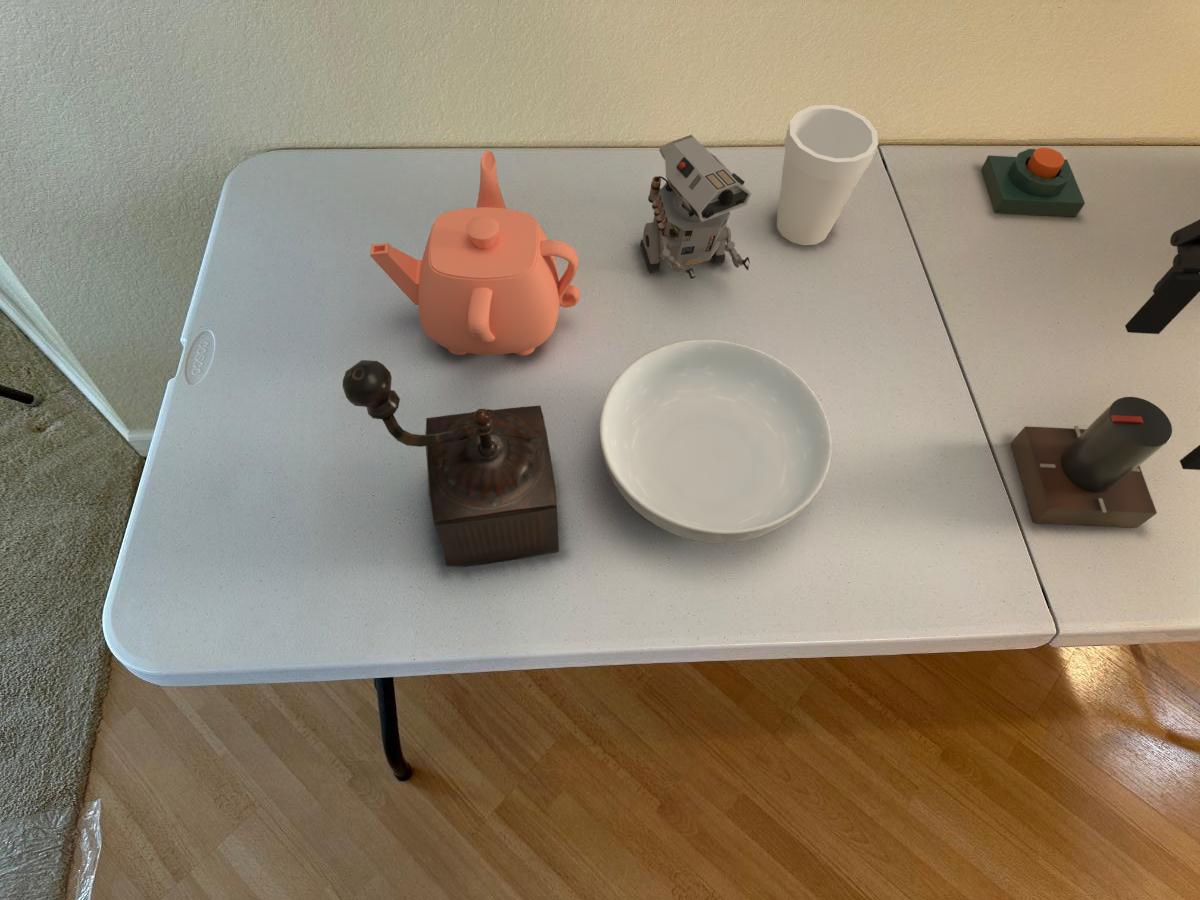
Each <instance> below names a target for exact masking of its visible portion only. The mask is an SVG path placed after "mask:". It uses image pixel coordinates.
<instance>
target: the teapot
mask: <svg viewBox="0 0 1200 900" xmlns="http://www.w3.org/2000/svg"><path fill="white" fill-rule="evenodd" d="M479 176H480V177H479V180H480V181H479V189H478V195H477V201H476V207H466V208H459V209H453V210H448V211H446V212H443V213H441V214H439V215H438V216H437V217H436V218H435V220H434V222H433V224H432V227H431V229H430V232H429V235H428V238H427V242H426V244H425V248H424V251H423V254H422V257H421V260H420V259H417V258H415V257H413V256H410V255H409V254H407V253H405V252H403V251H402V250H399V249H398V248H396V247H394V246H392V245H390V243H389V242H383V243H382V242H381V243H374V244H373V243H372V244H371V245H370V251H369V256H370V258H371V259H372V260H373V261H374V262H375V263H376V264H377V265H378V266H379V267H380V268H381V269H382V271H383V272H384V273H385V274H386V275H387V276H388V277H389V278H390V279H391V280H392V282H393V283H394V284H395V285H396V286H397V287H398V288H399V289H400V290H401V291H402V293H404V295H405V296H406V297H407V298H408V299H409V300H410V301H411V302H412V303H413V305H414V306H418V317H419V322H420V325H421V328H422V331H423V332H424V333H425V335H426V336H427V337H428V338H429V339H431V340H432V342H434V343H436V344H438V345H440V346H442V347H443V348H446V349H447V350H448V351H449V352H450V353H451V354H453V355H457V356H463V355H466V354H474V355H482V356H483V355H484V356H487V355H488V356H495V355H496V356H497V355H509V354H514V355H516V356H522V357H524V356H528V355H530V354H533V352H534V351H535V349H536V348H537V347H539V346H540V345H542V344H544V343H545V342H546V341H547V340H548V339H549V338H550V337H551V336H552V334H553V332H554V331H555V328H556V326H557V321H558V318H559V313H560V307H562V308H572V307H574V306H576V305H578V303H579V301H580V298H581V291H580V289H579V287H578V286H576V285H574V284H571V283H572V282H573V281H574V278H575V277H576V275H577V273H578V268H579V256H578V253H577V252H576V249H574V247H573V246H571V245H569V244H568V243H566V242H564V241H560V240H558V239H557V240H555V239H548V236H547V235H546V233H545V232H544V230H543V228H542V226H541V225H540V224H539V222H538V221H537V219H536V218H535V217H534V216H533V215H531V214H529V213H527V212H524V211H519V210H515V209H510V208H507V207H506V204H505V201H504V198H503V195H502V191H501V187H500V185H499V180H498V179H499V178H498V172H497V160H496V156H495V154H494V153H493V152H492V151H491V150H485V151H484V152H483V153H482V154H481V159H480V175H479ZM556 257H558V258H561V259H563V260H565V261H567V262H568V263H567V267H566V269H565V271H564V272H563V274H562V276H561V278H559V272H558V271H559V270H558V266H557V260H556Z"/></svg>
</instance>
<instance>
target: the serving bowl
mask: <svg viewBox="0 0 1200 900" xmlns="http://www.w3.org/2000/svg"><path fill="white" fill-rule="evenodd" d="M831 431H832V430H831V426H830V423H829V419H828V417H827V414H826V411H825V410H824V407H823V406H822V404H821V401H820V400H819V398H818V396H817V395H816V393H815V392H814V391H813V390H812V388H811V387H810V386H809V385H808V384H807V382H806V381H805V380H804V379H803V378H802V377H801V376H800V375H799V374H798V373H797V372H795V371H794V370H793V369H792V368H791V367H790V366H788V365H787V364H785V363H784V362H782V361H780V360H779V359H777V358H776V357H774V356H772V355H770V354H769V353H766V352H764V351H761V350H759V349H756V348H754V347H751V346H749V345H745V344H741V343H737V342H732V341H727V340H720V339H689V340H688V339H687V340H683V341H677V342H673V343H668V344H666V345H662V346H660V347H657V348H655V349H652V350H651V351H649V352H647V353H645V354H643V355H641V356H640V357H638V358H637V359H635V360H634V361H633V362H632V363H630V364H629V365H628V366H626V367H625V369H623V371H621V373H620V374H619V375H618V376H617V377H616V379H615V380H614V382H613V383H612V384H611V386H610V387H609V390H608V391H607V393H606V396H605V398H604V400H603V404H602V407H601V410H600V415H599V425H598V432H599V433H598V434H599V444H600V449H601V453H602V457H603V461H604V464H605V467H606V469H607V473H608V474H609V476H610V478H611V481H612V483H613V484H614V486H615V487H616V489H617V491H619V494H620V495H621V496H622V497H623V498H624V500H625V501H626V502H627V503H628V504H629V505H630V506H631V508H633V509H634V510H635V511H636V513H638V514H640V515H641V516H642V518H645V519H646V520H647V521H649V522H650V523H651V524H654V525H655V526H657V527H659V528H660V529H662V530H664V531H667V532H669V533H671V534H673V535H677V536H679V537H682V538H685V539H689V540H694V541H698V542H705V543H734V542H741V541H747V540H751V539H754V538H758V537H761V536H763V535H766V534H769V533H771V532H773V531H775V530H777V529H779V528H781V527H782V526H784V525H786V524H787V523H789V522H790V521H791V520H792V519H794V518H795V517H796V516H798V515H799V514H800V513H801V512H802V511H803V510H804V509H805V508H806V507H807V506H808V505H809V504H810V503H811V502H812V500H813V499H814V498H816V496H817V494H818V493H819V492H820V490H821V488H822V486H823V484H824V483H825V481H826V479H827V476H828V473H829V471H830V466H831V461H832V455H833V439H832V432H831Z"/></svg>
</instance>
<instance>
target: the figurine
mask: <svg viewBox="0 0 1200 900" xmlns="http://www.w3.org/2000/svg"><path fill="white" fill-rule="evenodd" d="M658 151H659V153H660V155H661V158H663V160H664V162H665V165H664V166H665V177H664V176H661V175H660V176H659V175H658V176H657V175H656V176H653V177H652V179H651V182H650V189H649V194H648V197H647V201H648V202H649V203H650V204H651V208H652V210H654V212H653V219H652V222H646V223H645V225H644V228H643V234H642V239H641V240H640V246H639V247H640V250H641V252H642V255H643V258H644V261H645V264H646V267H647V269H648V273H655V272H660V270H661V262H660V259H661V260H662V261H666V263H668V264H669V265H670V268H671V269H672V271H674V272H675V273H679V272H680V271H681V272H683V273H686V274H688V276H689V278H690V279H691V280H692V279H695V278H697V276H696V275H695V276H693V275H692V273H693V274H695V271H694V269H693V267H691V268H687V267H685V266H688V265H695V264H701V263H705V262H710V260H711V259H712V263H713V264H714V265H719V264H724V263H725V261H726V260H725V259H726V253H725V252H727V253H729V256H730V258H731V262H732V265H734V267H735V268H737V269H739V268H740V266H742V267H743V266H744V267H743V268H744V269H746V271H749V264H751V261H750V257H749V256H747V257H746V258H744V259H743V258H742V256H741V254H739V253H738V251H737V249H736V248H735V247H736V243H735V242H734V241H733V240H732V231H731V228H730V227H728V225H727V224H728V220H729V218H730V216H731V212H733V211H735V210H737V209H740V208H742V207H745V206H746V205H747V204H748V202H749V200H750V198H751V196H752V192H751V191H750V190H749V189H748V187H746V185H744V184H745V182H746V181H745V180H744V179H743V178H741V177H740V176H738V175H737V174H736V173H735V172H732V171H731V170H730V169H729V168H728V167H727V165H725V164H724V163H723V162H722V161H721V160H720V158H718V156H716V155H715V154H714V153H712V152H711V151H710V150H709V149H707V148H706V146H704V145H703V144H701V142H700V141H698V139H696V138H695V137H694V136H693V134H688V135H686V136H683V137H680V138H677V139H675V140H671V141H670V142H667V143H666V144H663V145H661V146H660V147H659V149H658ZM662 180H663V181H664V182H666V183H664V185H663V186H662V187H661V185H662ZM746 263H749V264H746Z"/></svg>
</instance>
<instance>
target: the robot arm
mask: <svg viewBox="0 0 1200 900" xmlns="http://www.w3.org/2000/svg"><path fill="white" fill-rule="evenodd" d="M1169 243H1170V245H1171V246H1172V247H1176V250H1177V253H1176V254H1175V255H1174V257H1173V259H1172V266H1171V267H1170V268H1169V269H1168V271H1166V273H1165V274H1164V275H1163V276H1162V277H1161V278H1160V280H1158V281H1157V283H1156V284H1155V285H1154V287H1153V290H1152V293H1153V294H1152V295H1151V296H1150V297H1149V298H1148V299H1147V301H1146V302H1145V303H1144V304H1143V305H1142V306H1141V307H1140V309H1138V311H1136V313H1135V314H1134V315H1133V316H1132V317H1131V319H1130V320H1129V321H1127V323H1126V324H1125V325H1124V327H1125V330H1126V332H1127V333H1128V334H1150V335H1153V334H1154V335H1159V334H1160V333H1161V332H1162V331H1163V330H1165V328H1166V327H1167V326H1168V325H1169V324H1170V323H1171V322H1173V320H1174V319H1176V318H1177V316H1178V315H1179V314H1180V313H1181V312H1182V311H1183V310H1184V309H1185V308H1186V307H1187V306H1188V305H1189V304H1190V302H1191V301H1193V299H1194V298H1195V297H1196V296H1198V294H1200V218H1199V219H1198V220H1195V221H1193V222H1191V223H1190V224H1187V225H1185V226H1183V227H1181V228H1179V229H1177V230H1175V231H1174V232H1173V233H1172V234H1171V236H1170V241H1169ZM1179 463H1180V466H1181V468H1182V470H1190V471H1191V470H1192V471H1200V444H1198V446H1196V447H1195V448H1194V449H1192V450H1191V451H1190V452H1189V453H1187V454H1186V455H1185V456H1183V457H1182V458H1181V459H1180V460H1179Z"/></svg>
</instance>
